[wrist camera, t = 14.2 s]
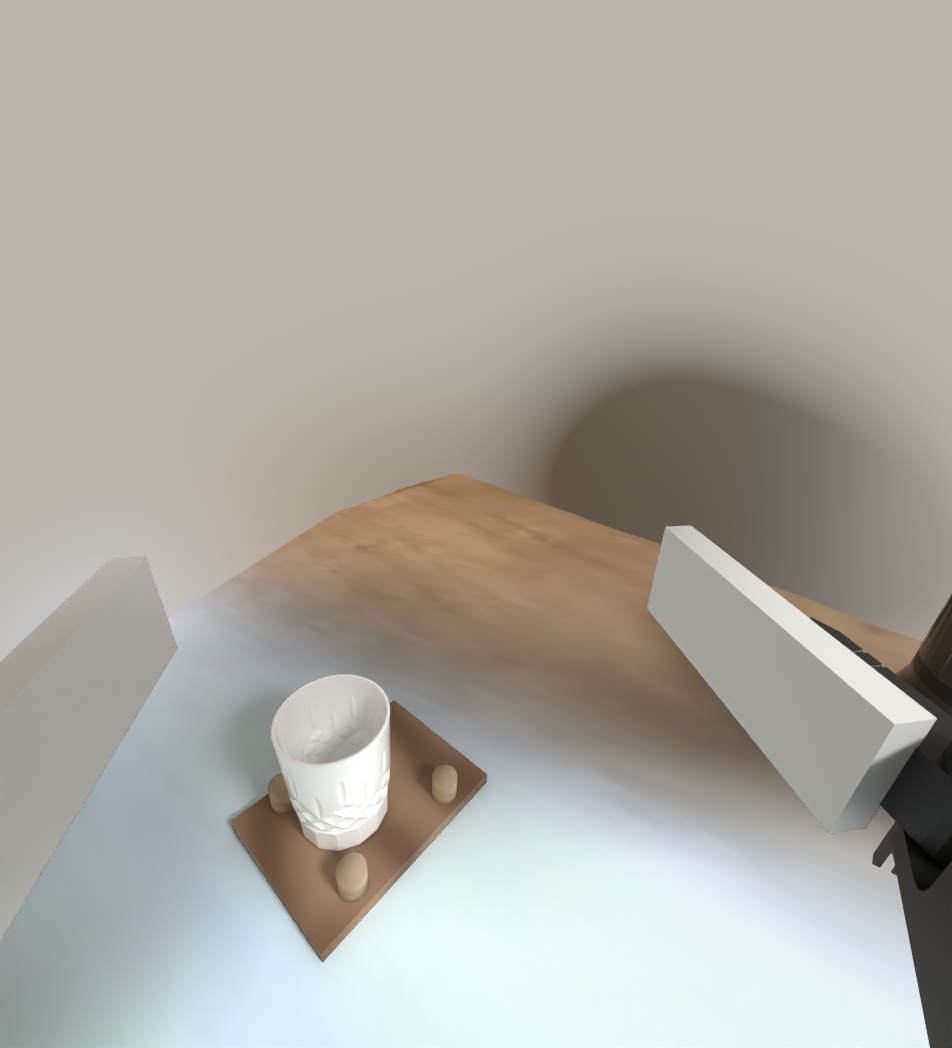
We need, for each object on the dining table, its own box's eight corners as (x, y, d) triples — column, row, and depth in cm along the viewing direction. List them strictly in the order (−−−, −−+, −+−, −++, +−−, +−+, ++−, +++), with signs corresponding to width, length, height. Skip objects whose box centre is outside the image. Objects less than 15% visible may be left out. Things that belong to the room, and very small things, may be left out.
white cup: (269, 822, 35) (244, 729, 31) (346, 746, 41) (334, 659, 37) (344, 884, 32) (328, 790, 27) (416, 791, 38) (412, 702, 33)
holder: (394, 707, 47) (392, 685, 45) (486, 782, 40) (487, 758, 39) (233, 829, 36) (225, 804, 34) (322, 962, 29) (316, 937, 27)
